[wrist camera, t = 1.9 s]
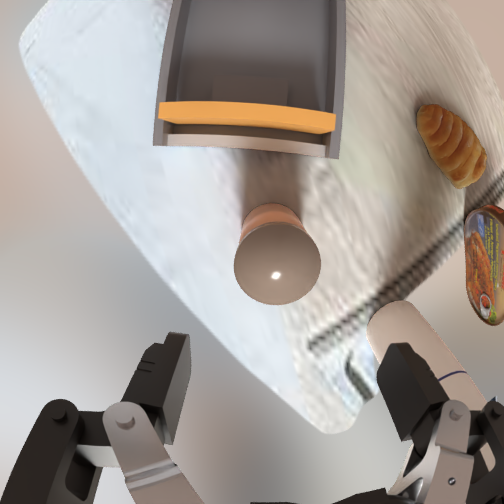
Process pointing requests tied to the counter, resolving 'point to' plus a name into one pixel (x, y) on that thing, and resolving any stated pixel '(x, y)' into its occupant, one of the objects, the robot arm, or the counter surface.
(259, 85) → the pusher
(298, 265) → the jar
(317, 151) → the lane
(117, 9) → the counter surface
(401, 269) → the counter surface
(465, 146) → the pastry
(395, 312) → the cylindrical container
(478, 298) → the tin
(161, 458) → the robot arm
